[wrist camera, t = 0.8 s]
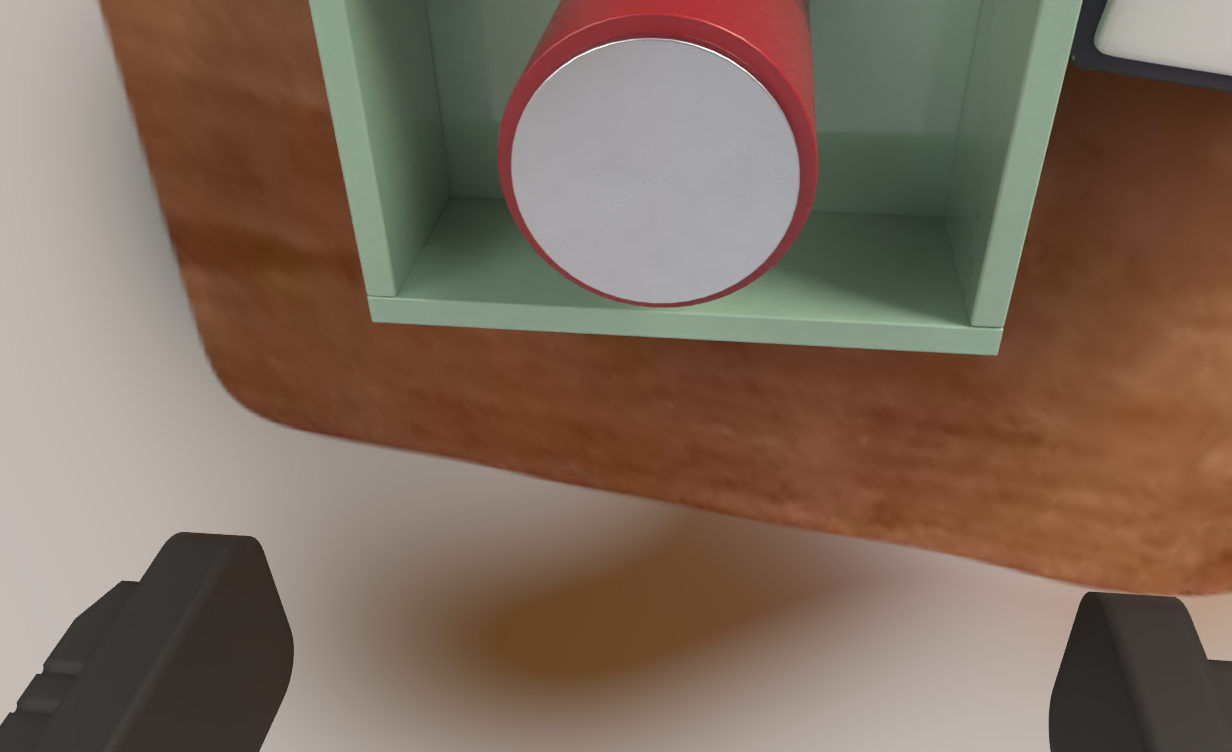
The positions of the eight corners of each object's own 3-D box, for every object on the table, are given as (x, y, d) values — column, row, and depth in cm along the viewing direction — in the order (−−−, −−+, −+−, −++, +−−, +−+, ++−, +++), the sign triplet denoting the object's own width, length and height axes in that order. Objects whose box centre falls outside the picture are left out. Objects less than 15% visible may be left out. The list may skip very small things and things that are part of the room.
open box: (356, -330, 24) (245, -306, 19) (1079, -345, 22) (1162, -323, 17) (434, 210, 32) (371, 323, 27) (963, 231, 30) (997, 356, 25)
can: (579, -130, 25) (476, 15, 17) (817, -129, 24) (834, 22, 16) (588, 95, 28) (507, 310, 20) (798, 101, 28) (804, 325, 19)
